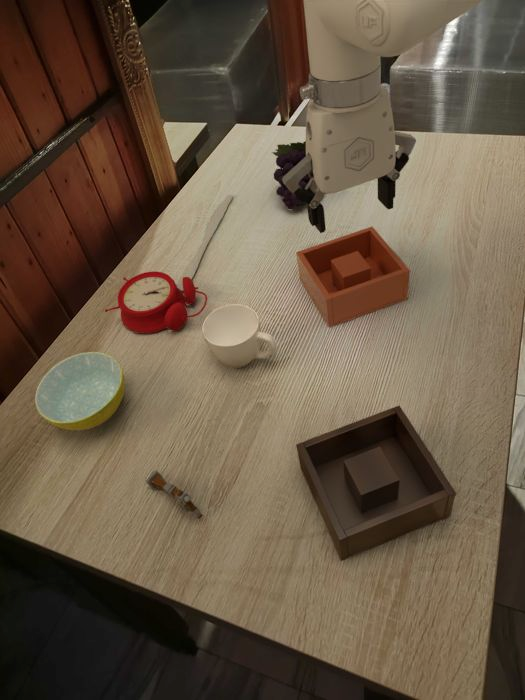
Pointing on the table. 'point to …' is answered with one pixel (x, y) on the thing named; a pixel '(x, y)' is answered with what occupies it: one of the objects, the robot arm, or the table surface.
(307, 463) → the walnut bin
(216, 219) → the butter knife
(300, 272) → the terracotta bin
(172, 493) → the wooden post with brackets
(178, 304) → the alarm clock
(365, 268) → the terracotta block
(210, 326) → the cup
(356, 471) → the walnut block
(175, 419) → the table surface
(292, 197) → the fruit
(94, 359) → the bowl
